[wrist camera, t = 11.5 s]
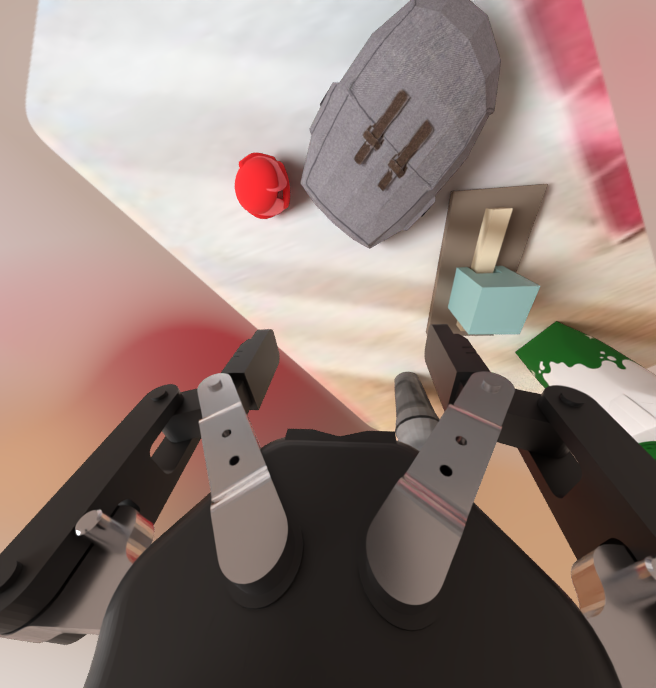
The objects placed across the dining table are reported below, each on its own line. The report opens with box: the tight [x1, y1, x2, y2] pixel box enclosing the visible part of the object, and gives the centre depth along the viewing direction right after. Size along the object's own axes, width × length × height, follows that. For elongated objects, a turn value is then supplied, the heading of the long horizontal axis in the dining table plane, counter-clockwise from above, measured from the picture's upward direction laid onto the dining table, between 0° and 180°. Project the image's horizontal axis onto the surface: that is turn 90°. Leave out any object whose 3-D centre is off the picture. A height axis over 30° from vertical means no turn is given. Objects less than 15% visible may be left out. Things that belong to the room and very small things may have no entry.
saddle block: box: [448, 266, 540, 334], centre depth 31 cm, size 6×6×8 cm
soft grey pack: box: [301, 0, 501, 249], centre depth 24 cm, size 15×8×20 cm
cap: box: [235, 153, 290, 219], centre depth 29 cm, size 8×6×6 cm
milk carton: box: [515, 321, 656, 460], centre depth 31 cm, size 9×9×20 cm
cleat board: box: [426, 184, 548, 336], centre depth 32 cm, size 20×10×3 cm, turn 4°
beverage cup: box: [395, 372, 440, 451], centre depth 38 cm, size 7×7×20 cm
